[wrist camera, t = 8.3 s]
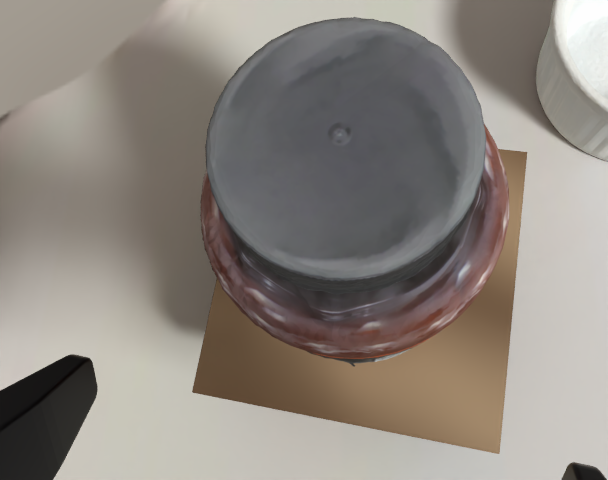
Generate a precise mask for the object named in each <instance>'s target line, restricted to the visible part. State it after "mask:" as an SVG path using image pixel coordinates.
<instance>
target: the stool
mask: <svg viewBox="0 0 608 480" xmlns="http://www.w3.org/2000/svg"><path fill="white" fill-rule="evenodd" d="M498 150H499V153H500V156H501V159H502V161H503V165H504V168H505V171H506V175H507V180H508V187H509V222H508V228H507V232H506V237H505V241H504V245H503V249H502V251H501V254H500V256H499V259H498V261H497V264H496V266H495V268H494V270H493V272H492V274H491V276H490V278H489V279H488V281H487V282H486V284H485V285H484V287H483V289H482V290H481V292H480V294H479V295H478V296H477V297H476V299H475V300H474V301H473V302H472V304H471V305H470V306H469V307H468V308H467V309H466V310H465V311H464V312H463V314H462V315H461V316H459V317H458V318H457V319H456V320H455V321H454V322H453V323H452V324H450V325H449V326H447V327H446V328H444V329H443V330H442V331H440V332H439V333H438V334H436V335H435V336H433V337H431V338H430V339H428V340H427V341H425V342H423V343H421V344H419V345H417V346H415V347H414V348H411V349H409V350H408V351H406V352H404V353H402V354H400V355H397V356H395V357H392V358H389V359H386V360H381V361H377V362H366V363H353V364H354V365H355V367H353V366H352V365H351V364H349V363H347V362H344V361H338V360H335V359H328V358H324V357H321V356H318V355H314V354H310V353H309V352H307V351H305V350H302V349H299V348H296V347H293V346H290V345H288V344H286V343H284V342H282V341H280V340H278V339H276V338H274V337H272V336H271V335H270V334H268V333H267V332H265V331H264V330H263V329H261V328H260V327H258V326H256V325H255V324H254V323H253V322H252V321H251V320H250V319H249V318H248V317H247V316H246V315H245V314H243V313H242V312H241V311H240V310H239V308H238V307H237V306H236V305H235V303H234V302H233V301H232V300H231V299H230V298H229V296H228V295H227V294H226V293H225V292H224V291H223V289H222V287H221V284H220V283H219V280H218V279H217V280H216V285H215V289H214V294H213V299H212V303H211V308H210V312H209V317H208V322H207V326H206V331H205V335H204V340H203V345H202V349H201V354H200V358H199V363H198V368H197V372H196V377H195V381H194V386H193V391H192V392H193V393H198V394H203V395H208V396H213V397H218V398H223V399H228V400H233V401H238V402H243V403H248V404H253V405H258V406H263V407H268V408H273V409H278V410H283V411H288V412H293V413H298V414H303V415H308V416H313V417H318V418H323V419H328V420H333V421H338V422H343V423H348V424H353V425H358V426H363V427H367V428H372V429H377V430H382V431H387V432H392V433H397V434H402V435H407V436H412V437H417V438H422V439H427V440H432V441H437V442H442V443H447V444H452V445H457V446H462V447H467V448H472V449H477V450H482V451H487V452H492V453H497V454H499V452H500V441H501V430H502V419H503V408H504V398H505V387H506V376H507V365H508V354H509V343H510V332H511V322H512V311H513V300H514V289H515V278H516V267H517V256H518V245H519V235H520V224H521V213H522V202H523V191H524V180H525V169H526V159H527V152H520V151H511V150H502V149H498Z"/></svg>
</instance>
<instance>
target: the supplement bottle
mask: <svg viewBox="0 0 608 480" xmlns="http://www.w3.org/2000/svg"><path fill="white" fill-rule="evenodd" d="M206 168H207V170H206V174H205V176H204V181H203V188H202V196H201V222H202V234H203V241H204V245H205V250H206V252H207V254H208V257H209V260H210V263H211V266H212V269H213V271H214V272H215V274H216V277H217V279H218V280H219V283H220V284H221V287H222V289H223V291H224V292H225V293H226V294H227V295H228V296H229V298H230V299H231V300H232V301H233V302H234V303H235V305H236V306H237V307H238V308H239V310H240V311H241V312H242V313H243V314H245V315H246V316H247V317H248V318H249V319H250V320H251V321H252V322H253V323H254V324H255V325H256V326H258V327H260V328H261V329H263V330H264V331H265V332H267V333H268V334H270V335H271V336H272V337H274V338H276V339H278V340H280V341H282V342H284V343H286V344H288V345H290V346H293V347H296V348H299V349H302V350H305V351H307V352H309V353H310V354H314V355H318V356H321V357H324V358H328V359H335V360H338V361H344V362H347V363H349V364H351V365H352V366H353V367H355V365H354V364H353V363H366V362H377V361H381V360H386V359H389V358H392V357H395V356H397V355H400V354H402V353H404V352H406V351H408V350H409V349H411V348H414V347H415V346H417V345H419V344H421V343H423V342H425V341H427V340H428V339H430V338H431V337H433V336H435V335H436V334H438V333H439V332H440V331H442V330H443V329H444V328H446V327H447V326H449V325H450V324H452V323H453V322H454V321H455V320H456V319H457V318H458V317H459V316H461V315H462V314H463V312H464V311H465V310H466V309H467V308H468V307H469V306H470V305H471V304H472V302H473V301H474V300H475V299H476V297H477V296H478V295H479V294H480V292H481V290H482V289H483V287H484V285H485V284H486V282H487V281H488V279H489V278H490V276H491V274H492V272H493V270H494V268H495V266H496V264H497V261H498V259H499V256H500V254H501V251H502V249H503V245H504V241H505V237H506V232H507V228H508V222H509V187H508V180H507V175H506V171H505V168H504V165H503V161H502V159H501V156H500V153H499V150H498V148H497V146H496V144H495V141H494V140H493V138H492V136H491V135H490V133H489V131H488V129H487V127H486V126H485V124H484V122H483V116H482V111H481V105H480V103H479V102H478V99H477V96H476V94H475V92H474V89H473V87H472V85H471V83H470V82H469V81H468V79H467V78H466V76H465V74H464V73H463V71H462V70H461V69H460V67H459V66H458V65H457V64H456V63H455V62H454V61H453V60H452V59H451V57H450V56H449V55H448V54H447V53H446V52H445V51H444V50H443V49H442V48H441V47H439V46H437V45H436V44H434V43H432V42H430V41H428V40H427V39H426V38H425V37H423V36H421V35H419V34H418V33H416V32H414V31H412V30H410V29H407V28H405V27H403V26H400V25H398V24H394V23H391V22H381V21H378V20H374V19H361V18H356V17H354V18H340V19H330V20H324V21H320V22H314V23H311V24H307V25H304V26H300V27H298V28H295V29H293V30H291V31H289V32H287V33H285V34H283V35H281V36H279V37H277V38H275V39H273V40H271V41H270V42H268V43H267V44H266V45H265V46H263V47H262V48H261V49H259V50H258V51H256V52H255V53H254V54H253V55H252V56H251V57H250V58H248V59H247V61H246V62H245V63H244V64H243V65H242V66H241V67H239V68H238V70H237V71H236V73H235V74H234V76H233V77H232V78H231V79H230V80H229V82H228V83H227V85H226V86H225V88H224V91H223V92H222V94H221V95H220V97H219V99H218V101H217V103H216V105H215V108H214V112H213V115H212V117H211V120H210V123H209V127H208V131H207V140H206Z"/></svg>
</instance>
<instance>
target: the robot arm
mask: <svg viewBox="0 0 608 480" xmlns="http://www.w3.org/2000/svg"><path fill="white" fill-rule="evenodd" d="M96 395H97V382H96V377H95V372H94V368H93V363H92V361H91V360H90V358H88V357H83V356H79V355H68V356H66V357H64V358H62V359H60V360H58V361H56V362H54V363H52V364H50V365H48V366H47V367H45V368H43V369H41V370H39V371H37V372H35V373H33V374H31V375H29V376H28V377H26V378H24V379H22V380H20V381H18V382H16V383H14V384H12V385H10V386H8V387H7V388H5V389H3V390H1V391H0V480H53V479H54V477H55V476H56V474H57V472H58V471H59V469H60V467H61V465H62V463H63V462H64V460H65V458H66V456H67V454H68V452H69V450H70V448H71V446H72V444H73V442H74V440H75V438H76V436H77V434H78V432H79V430H80V428H81V426H82V424H83V422H84V420H85V418H86V416H87V414H88V412H89V410H90V408H91V406H92V404H93V402H94V400H95V398H96ZM562 480H607V479H606V478H605V477H604V475H603V474H602V473H601V472H600V470H598V469H597V468H596V467H593V466H589V465H585V464H580V463H575V462H574V463H570V464H569V465H568V467H567V469H566V471H565V473H564V475H563V477H562Z"/></svg>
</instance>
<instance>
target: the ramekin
mask: <svg viewBox="0 0 608 480" xmlns="http://www.w3.org/2000/svg"><path fill="white" fill-rule="evenodd" d="M536 73H537V74H536V85H537V93H538V96H539V99H540V102H541V105H542V107H543V109H544V112H545V114H546V115H547V117H548V118H549V120H550V121H551V123H552V124H553V125H554V127H555V128H556V129H557V130H558V131H559V132H560V134H561V135H562V136H564V137H565V138H566V139H567V140H568V141H569V142H570V143H572V144H573V145H575V146H576V147H578V148H579V149H581V150H582V151H584V152H586V153H588V154H590V155H592V156H595V157H597V158H600V159H602V160H605V161H607V162H608V0H554V2H553V7H552V12H551V17H550V26H549V29H548V32H547V34H546V37H545V40H544V43H543V45H542V48H541V51H540V54H539V59H538V64H537V69H536Z"/></svg>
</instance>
